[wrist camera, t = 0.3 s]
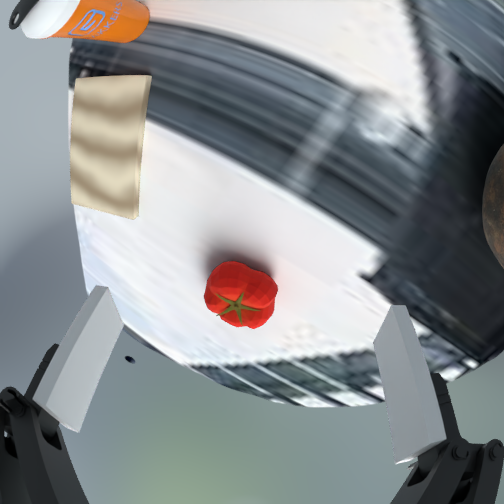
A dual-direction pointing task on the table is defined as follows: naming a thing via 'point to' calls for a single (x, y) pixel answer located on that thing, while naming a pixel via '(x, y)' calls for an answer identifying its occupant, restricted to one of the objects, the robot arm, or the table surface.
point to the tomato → (240, 294)
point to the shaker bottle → (81, 19)
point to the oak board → (108, 142)
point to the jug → (495, 206)
